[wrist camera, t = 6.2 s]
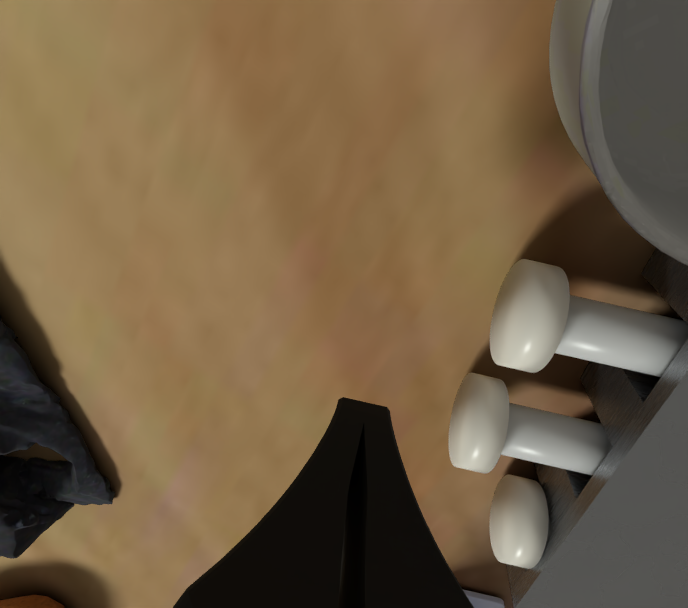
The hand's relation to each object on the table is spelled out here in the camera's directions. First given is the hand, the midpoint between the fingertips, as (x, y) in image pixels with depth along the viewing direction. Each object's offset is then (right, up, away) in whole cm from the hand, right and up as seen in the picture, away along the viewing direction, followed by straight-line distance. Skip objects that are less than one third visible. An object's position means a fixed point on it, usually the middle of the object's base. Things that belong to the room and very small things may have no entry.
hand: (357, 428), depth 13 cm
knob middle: (+9, -1, +9) cm, 13 cm away
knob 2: (+10, +3, +6) cm, 12 cm away
